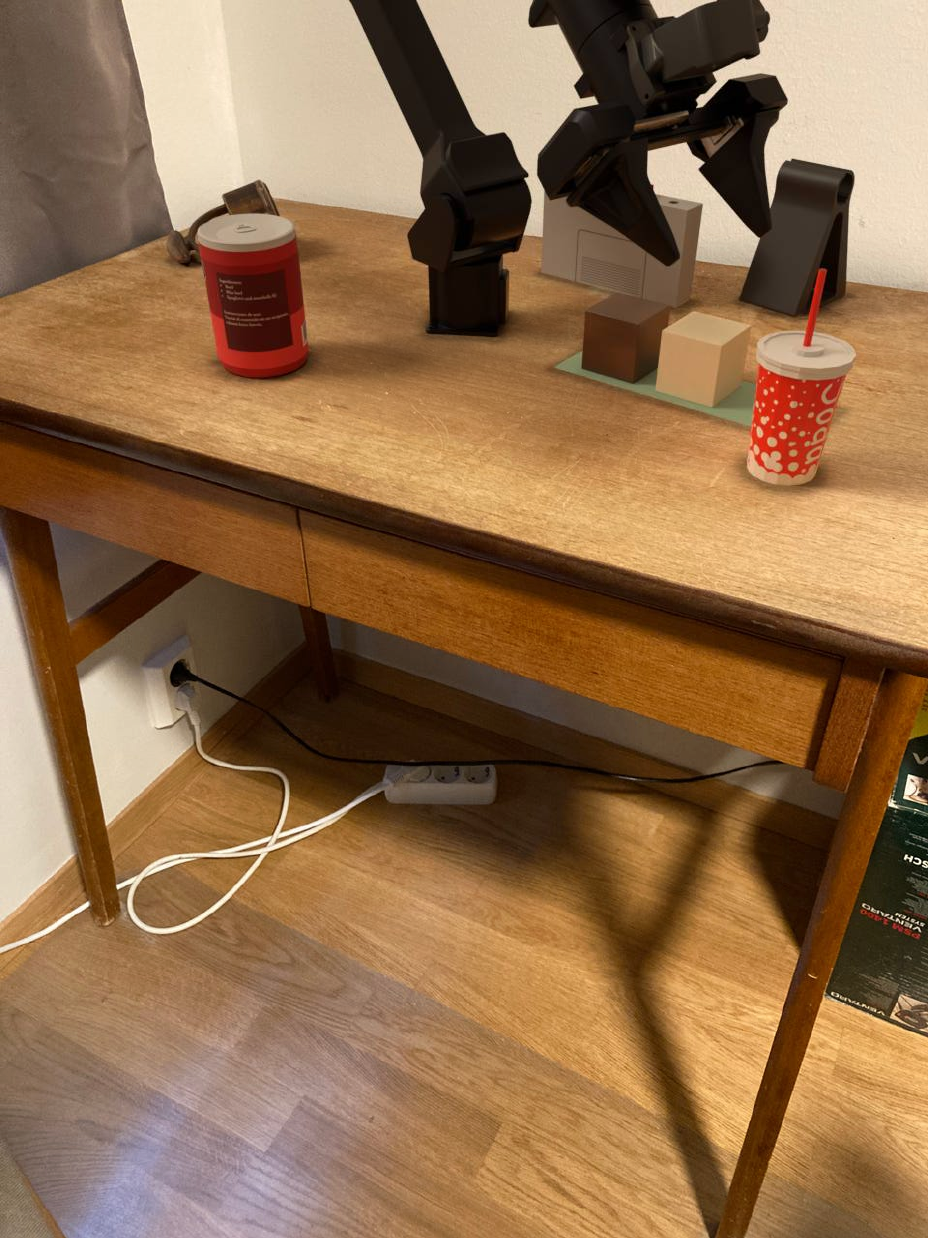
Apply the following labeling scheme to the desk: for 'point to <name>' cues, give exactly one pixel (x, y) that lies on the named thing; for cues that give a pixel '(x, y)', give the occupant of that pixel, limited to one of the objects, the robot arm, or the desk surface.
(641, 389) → the line mat
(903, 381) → the desk surface
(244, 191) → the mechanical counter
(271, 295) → the canned food
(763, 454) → the beverage cup
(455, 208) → the robot arm
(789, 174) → the phone stand
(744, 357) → the cream block
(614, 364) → the walnut block
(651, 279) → the cassette player
